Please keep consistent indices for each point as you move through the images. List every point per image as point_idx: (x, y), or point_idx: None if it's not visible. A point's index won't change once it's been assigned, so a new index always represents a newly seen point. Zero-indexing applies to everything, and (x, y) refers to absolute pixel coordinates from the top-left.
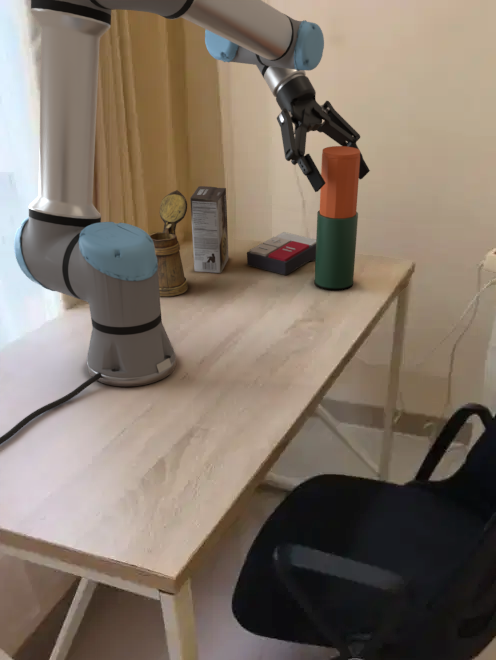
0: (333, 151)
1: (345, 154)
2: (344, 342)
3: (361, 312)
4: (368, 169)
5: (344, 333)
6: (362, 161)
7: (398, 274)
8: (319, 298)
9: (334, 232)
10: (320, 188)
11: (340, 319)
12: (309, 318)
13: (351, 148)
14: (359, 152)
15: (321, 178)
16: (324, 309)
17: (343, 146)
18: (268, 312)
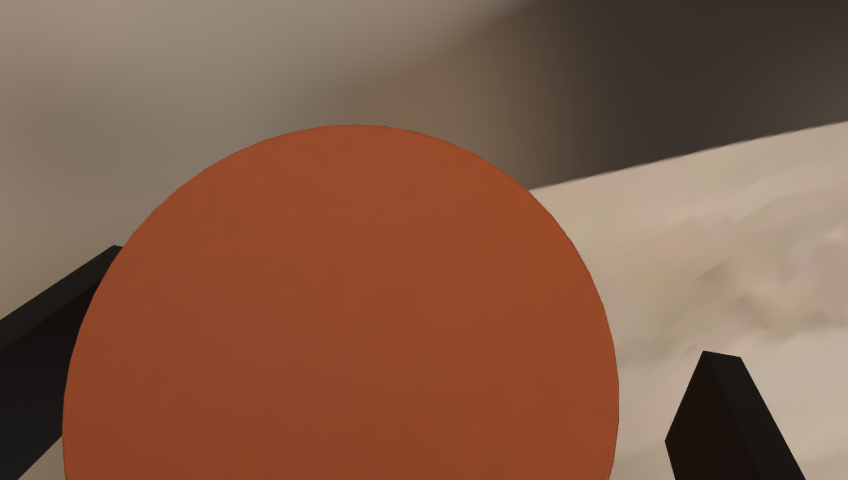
0: (461, 436)
1: (512, 201)
2: (785, 149)
3: (581, 209)
4: (109, 254)
5: (738, 177)
6: (65, 300)
7: None
8: None
9: None
10: (680, 410)
11: (667, 233)
12: (731, 313)
13: (153, 309)
14: (285, 135)
15: (738, 391)
16: (640, 311)
17: (86, 476)
18: (798, 457)
